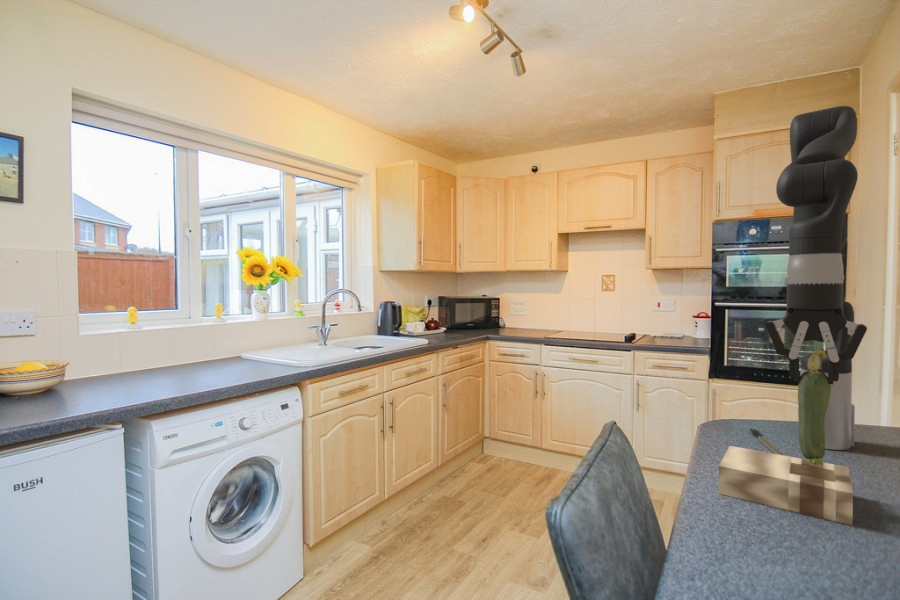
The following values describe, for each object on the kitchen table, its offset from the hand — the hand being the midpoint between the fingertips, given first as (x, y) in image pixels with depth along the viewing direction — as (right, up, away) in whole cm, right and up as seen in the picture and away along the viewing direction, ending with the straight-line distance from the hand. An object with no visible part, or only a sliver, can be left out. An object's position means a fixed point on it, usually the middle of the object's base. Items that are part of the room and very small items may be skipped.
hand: (813, 381), depth 79 cm
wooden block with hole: (-3, -21, +3) cm, 21 cm away
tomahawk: (+12, -20, +27) cm, 36 cm away
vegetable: (0, -14, 0) cm, 14 cm away
